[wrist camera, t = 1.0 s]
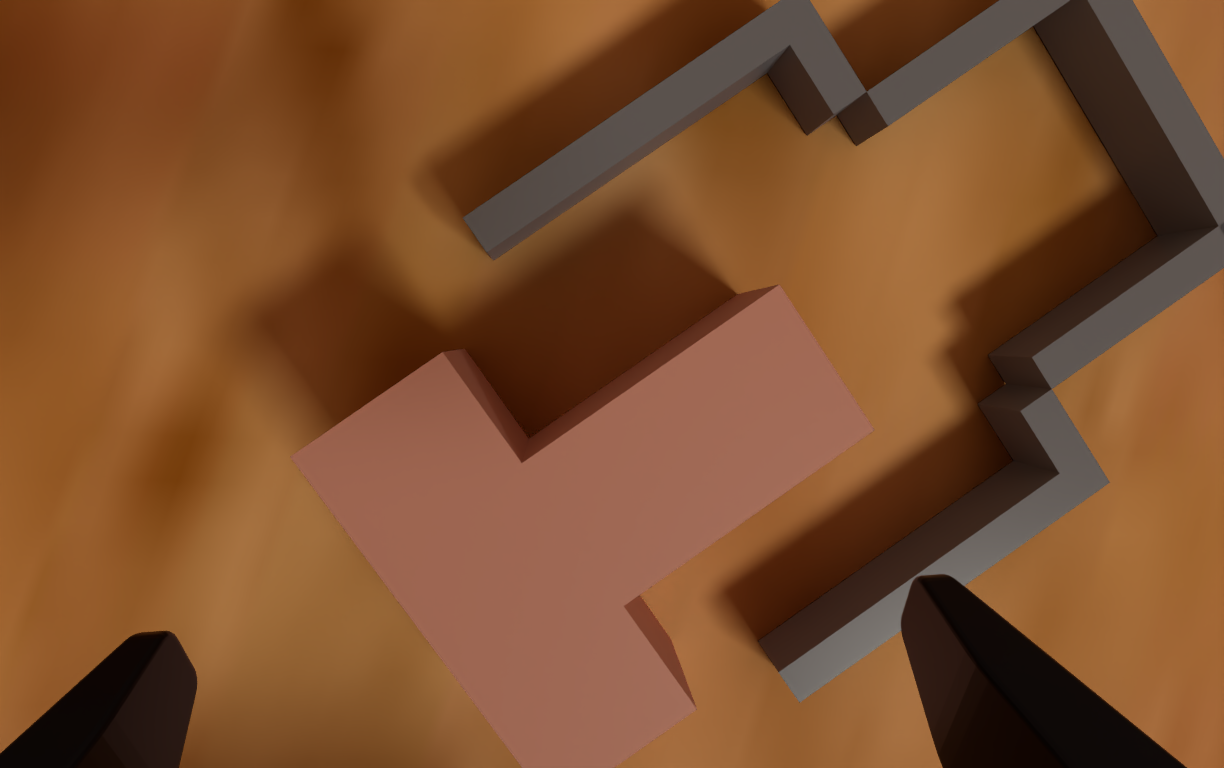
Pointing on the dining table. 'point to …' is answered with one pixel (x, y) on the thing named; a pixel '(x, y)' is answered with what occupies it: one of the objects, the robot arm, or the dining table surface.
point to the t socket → (1028, 363)
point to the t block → (579, 516)
